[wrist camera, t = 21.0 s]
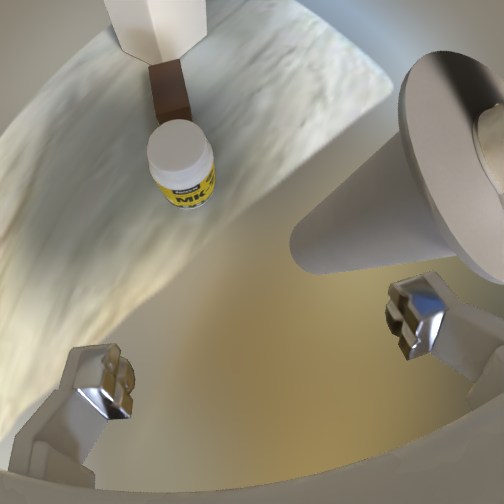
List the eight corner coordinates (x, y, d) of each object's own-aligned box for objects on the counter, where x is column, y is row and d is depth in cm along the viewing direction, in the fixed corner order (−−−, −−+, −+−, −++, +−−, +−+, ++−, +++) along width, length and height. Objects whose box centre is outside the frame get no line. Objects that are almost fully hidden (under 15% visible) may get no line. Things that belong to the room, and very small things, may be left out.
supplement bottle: (181, 220, 27) (162, 193, 19) (154, 179, 27) (127, 140, 19) (226, 190, 28) (226, 151, 19) (197, 150, 28) (187, 102, 19)
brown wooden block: (155, 88, 28) (148, 66, 24) (183, 81, 28) (179, 58, 25) (163, 136, 28) (155, 115, 24) (194, 128, 28) (189, 106, 24)
